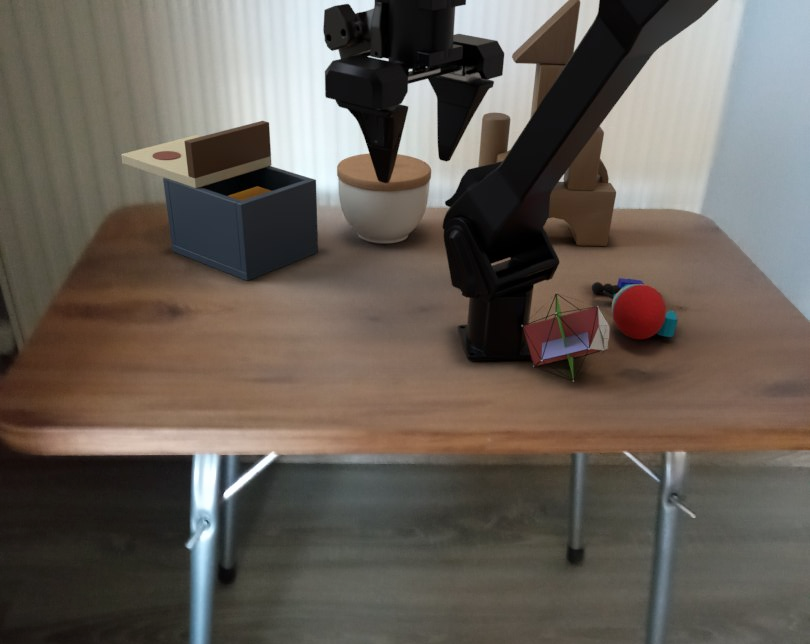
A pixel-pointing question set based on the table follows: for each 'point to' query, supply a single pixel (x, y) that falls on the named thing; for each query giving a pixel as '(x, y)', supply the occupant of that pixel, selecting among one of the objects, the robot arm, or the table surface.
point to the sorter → (245, 222)
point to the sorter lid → (207, 155)
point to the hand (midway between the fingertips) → (414, 170)
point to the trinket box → (383, 197)
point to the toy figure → (638, 309)
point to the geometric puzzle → (566, 336)
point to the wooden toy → (587, 176)
